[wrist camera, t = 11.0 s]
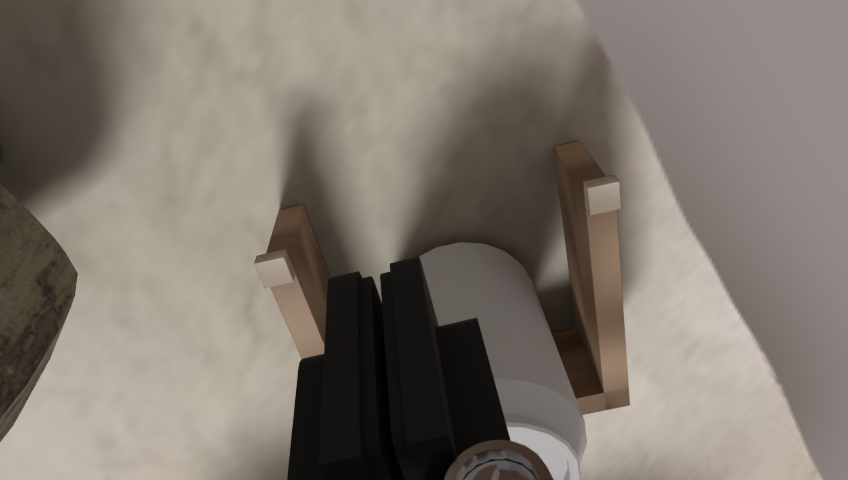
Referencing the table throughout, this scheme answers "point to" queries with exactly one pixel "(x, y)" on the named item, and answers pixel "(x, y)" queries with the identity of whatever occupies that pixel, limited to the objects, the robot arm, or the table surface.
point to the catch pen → (588, 270)
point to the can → (512, 348)
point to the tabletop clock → (28, 303)
